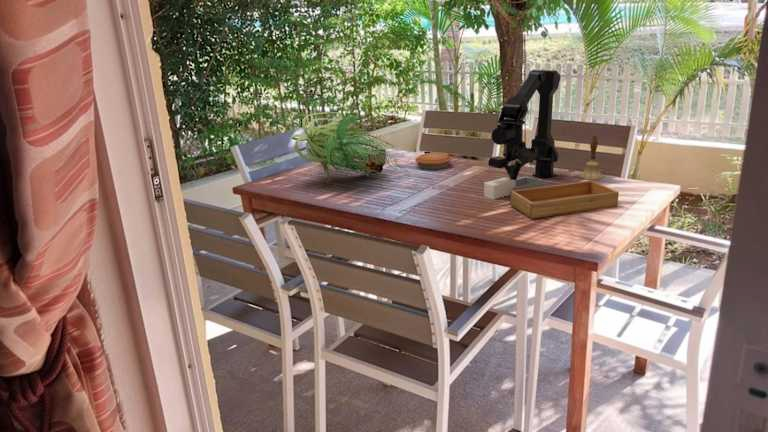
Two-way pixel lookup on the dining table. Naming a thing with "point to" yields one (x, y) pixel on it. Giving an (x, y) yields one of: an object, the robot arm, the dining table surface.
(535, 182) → the holder
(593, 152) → the hand bell
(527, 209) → the tray
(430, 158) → the pie
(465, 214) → the dining table surface
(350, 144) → the plant
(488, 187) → the block
